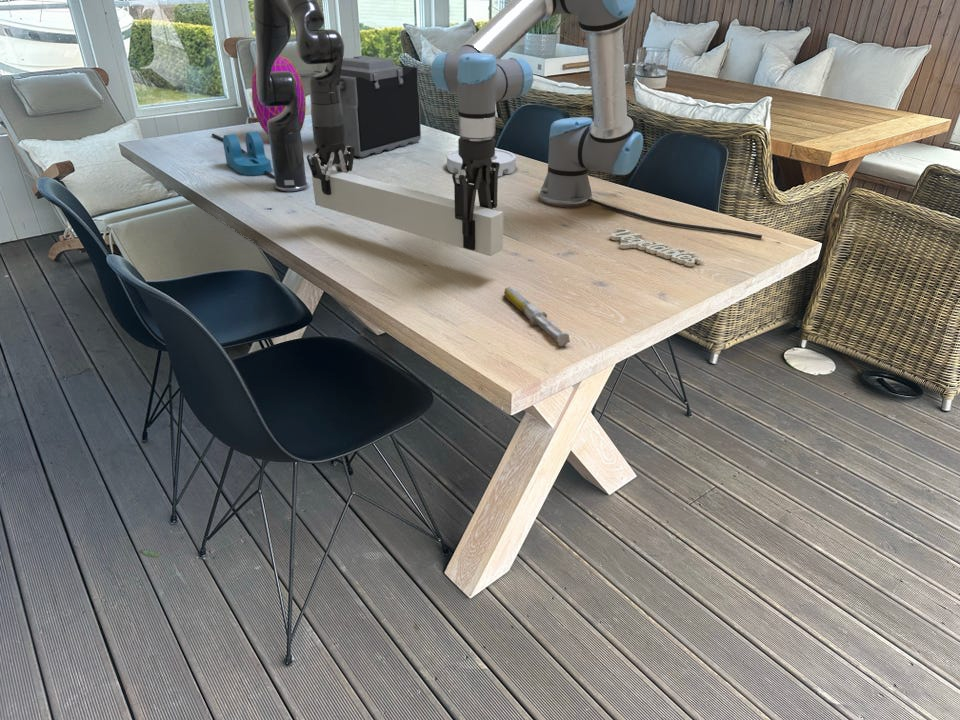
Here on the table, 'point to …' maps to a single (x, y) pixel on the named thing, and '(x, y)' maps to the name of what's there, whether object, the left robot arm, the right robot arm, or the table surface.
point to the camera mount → (246, 154)
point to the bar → (409, 211)
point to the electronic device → (378, 104)
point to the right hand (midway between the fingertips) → (476, 244)
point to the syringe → (536, 316)
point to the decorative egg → (270, 112)
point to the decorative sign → (653, 247)
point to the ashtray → (501, 156)
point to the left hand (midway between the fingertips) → (334, 191)
